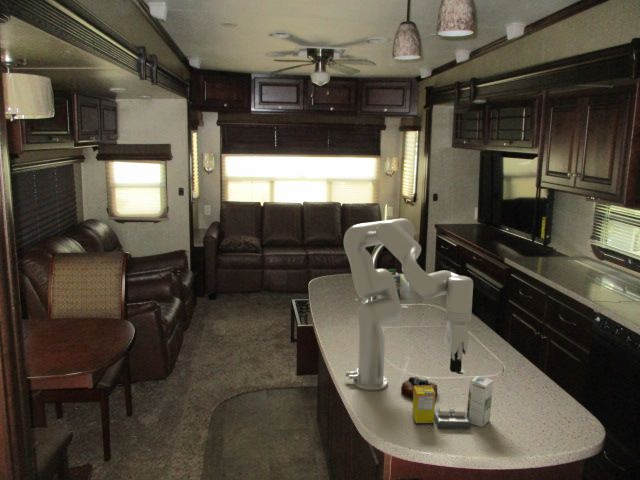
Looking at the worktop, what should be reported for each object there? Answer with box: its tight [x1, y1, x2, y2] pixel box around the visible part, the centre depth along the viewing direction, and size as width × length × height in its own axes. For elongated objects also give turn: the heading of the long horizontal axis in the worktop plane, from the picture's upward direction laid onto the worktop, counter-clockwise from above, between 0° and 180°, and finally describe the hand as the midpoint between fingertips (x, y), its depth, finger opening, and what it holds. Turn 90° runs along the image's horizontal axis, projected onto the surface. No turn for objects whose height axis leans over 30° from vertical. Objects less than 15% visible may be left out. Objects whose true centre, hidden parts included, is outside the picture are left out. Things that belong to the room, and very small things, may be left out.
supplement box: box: [412, 386, 436, 426], centre depth 178 cm, size 6×6×11 cm
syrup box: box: [466, 375, 494, 428], centre depth 178 cm, size 6×6×14 cm
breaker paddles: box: [437, 406, 466, 416], centre depth 178 cm, size 8×2×2 cm, turn 89°
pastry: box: [400, 376, 438, 400], centre depth 197 cm, size 11×12×6 cm
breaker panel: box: [434, 408, 471, 430], centre depth 178 cm, size 10×8×3 cm
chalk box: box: [387, 268, 401, 297], centre depth 317 cm, size 9×9×15 cm
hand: (455, 370), depth 175 cm, fingers closed
